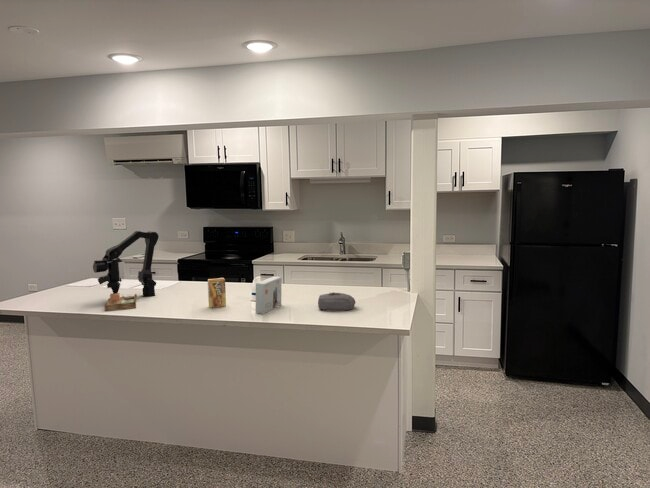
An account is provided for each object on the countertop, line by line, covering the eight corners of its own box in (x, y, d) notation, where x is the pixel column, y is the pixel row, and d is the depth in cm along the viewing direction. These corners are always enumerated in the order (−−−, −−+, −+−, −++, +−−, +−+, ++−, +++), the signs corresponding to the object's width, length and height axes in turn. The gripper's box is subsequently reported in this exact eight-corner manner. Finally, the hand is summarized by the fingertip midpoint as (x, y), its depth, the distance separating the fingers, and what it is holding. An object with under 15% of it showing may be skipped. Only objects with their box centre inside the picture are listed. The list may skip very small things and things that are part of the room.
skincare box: (264, 314, 230) (263, 283, 228) (255, 313, 232) (254, 283, 230) (282, 304, 250) (281, 276, 248) (273, 303, 252) (272, 275, 250)
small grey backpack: (316, 311, 234) (355, 312, 232) (316, 296, 233) (355, 296, 231) (319, 304, 249) (356, 304, 247) (319, 289, 248) (356, 290, 246)
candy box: (224, 304, 252) (223, 277, 250) (226, 306, 248) (225, 278, 246) (208, 306, 248) (207, 279, 246) (210, 308, 244) (208, 280, 242)
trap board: (136, 299, 268) (136, 293, 268) (135, 308, 247) (135, 302, 246) (109, 301, 263) (108, 296, 262) (105, 311, 241) (105, 305, 241)
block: (119, 298, 262) (119, 292, 262) (119, 300, 258) (118, 294, 257) (111, 299, 260) (110, 293, 260) (110, 300, 256) (110, 295, 256)
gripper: (100, 268, 266) (101, 294, 268) (96, 274, 249) (98, 301, 251) (120, 267, 270) (122, 292, 272) (118, 272, 253) (120, 299, 255)
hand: (115, 296), depth 262 cm, fingers closed
